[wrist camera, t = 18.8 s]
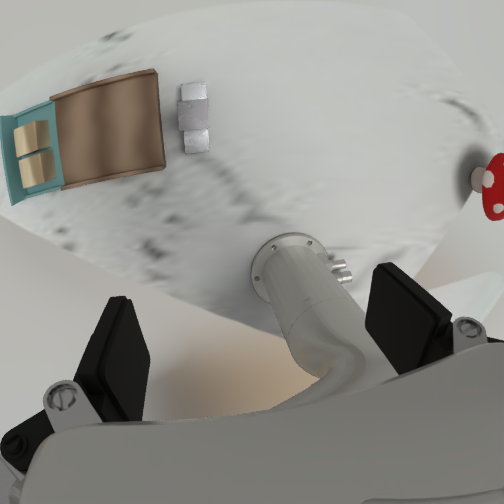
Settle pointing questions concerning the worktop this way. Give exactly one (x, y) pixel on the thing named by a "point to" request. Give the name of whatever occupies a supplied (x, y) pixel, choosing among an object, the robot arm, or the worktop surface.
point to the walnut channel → (110, 129)
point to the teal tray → (4, 131)
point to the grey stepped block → (194, 117)
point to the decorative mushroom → (491, 187)
